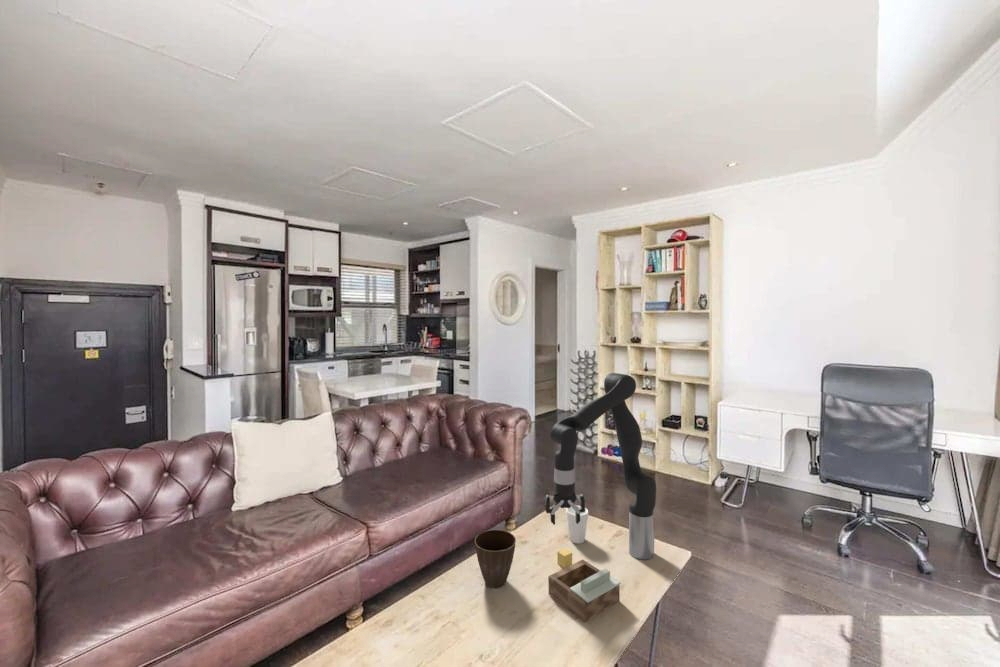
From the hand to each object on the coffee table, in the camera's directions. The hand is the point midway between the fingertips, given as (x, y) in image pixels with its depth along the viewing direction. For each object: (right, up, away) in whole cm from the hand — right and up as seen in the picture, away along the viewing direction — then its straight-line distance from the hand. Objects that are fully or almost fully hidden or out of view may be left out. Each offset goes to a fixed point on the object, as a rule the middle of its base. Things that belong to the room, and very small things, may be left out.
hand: (565, 523), depth 158 cm
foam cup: (+9, -20, +29) cm, 36 cm away
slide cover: (+8, -15, -14) cm, 22 cm away
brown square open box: (+5, -22, -9) cm, 24 cm away
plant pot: (-25, -22, 0) cm, 34 cm away
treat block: (+1, -21, +11) cm, 24 cm away
